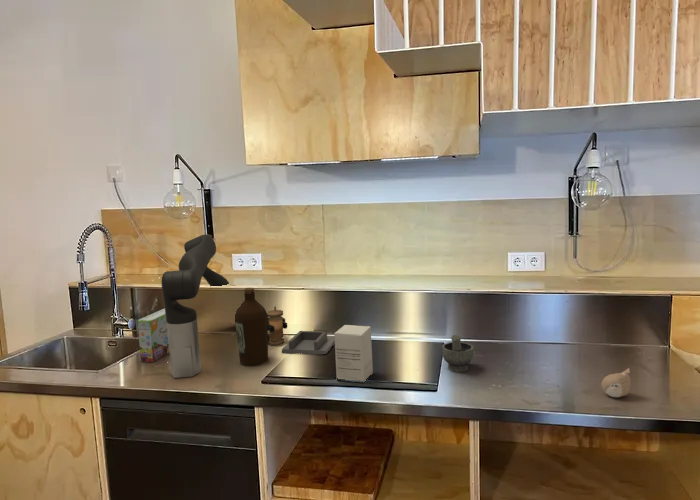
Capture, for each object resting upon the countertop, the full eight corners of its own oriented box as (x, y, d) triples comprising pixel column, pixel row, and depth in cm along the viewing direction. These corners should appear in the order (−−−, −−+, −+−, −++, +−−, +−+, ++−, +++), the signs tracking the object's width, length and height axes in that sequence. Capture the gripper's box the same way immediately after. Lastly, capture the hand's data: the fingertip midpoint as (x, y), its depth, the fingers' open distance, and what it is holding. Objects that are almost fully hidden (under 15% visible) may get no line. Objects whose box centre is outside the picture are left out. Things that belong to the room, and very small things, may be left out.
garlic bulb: (621, 403, 130) (622, 373, 129) (596, 395, 135) (597, 366, 134) (634, 396, 134) (635, 367, 132) (609, 388, 139) (610, 360, 138)
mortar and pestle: (444, 361, 164) (443, 325, 163) (474, 363, 162) (474, 326, 160) (440, 374, 154) (439, 336, 152) (472, 376, 151) (471, 337, 149)
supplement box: (346, 370, 160) (344, 324, 158) (373, 372, 157) (371, 325, 155) (335, 381, 152) (333, 332, 150) (364, 384, 149) (362, 334, 147)
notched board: (336, 342, 189) (335, 330, 188) (325, 355, 175) (325, 342, 175) (295, 340, 193) (294, 329, 192) (281, 353, 179) (281, 340, 179)
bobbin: (284, 345, 188) (282, 309, 186) (268, 346, 188) (266, 310, 186) (285, 340, 194) (282, 305, 192) (269, 341, 193) (267, 306, 192)
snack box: (154, 362, 175) (150, 320, 173) (140, 362, 176) (135, 319, 174) (186, 343, 196) (182, 304, 194) (173, 342, 197) (169, 304, 195)
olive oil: (264, 353, 179) (260, 284, 176) (274, 362, 170) (269, 289, 167) (234, 359, 175) (229, 288, 171) (242, 369, 165) (237, 293, 162)
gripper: (239, 313, 196) (262, 321, 183) (271, 306, 205) (295, 313, 192) (240, 332, 197) (263, 341, 184) (272, 324, 206) (296, 333, 193)
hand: (279, 327), depth 188 cm, fingers closed on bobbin, 5 cm apart
